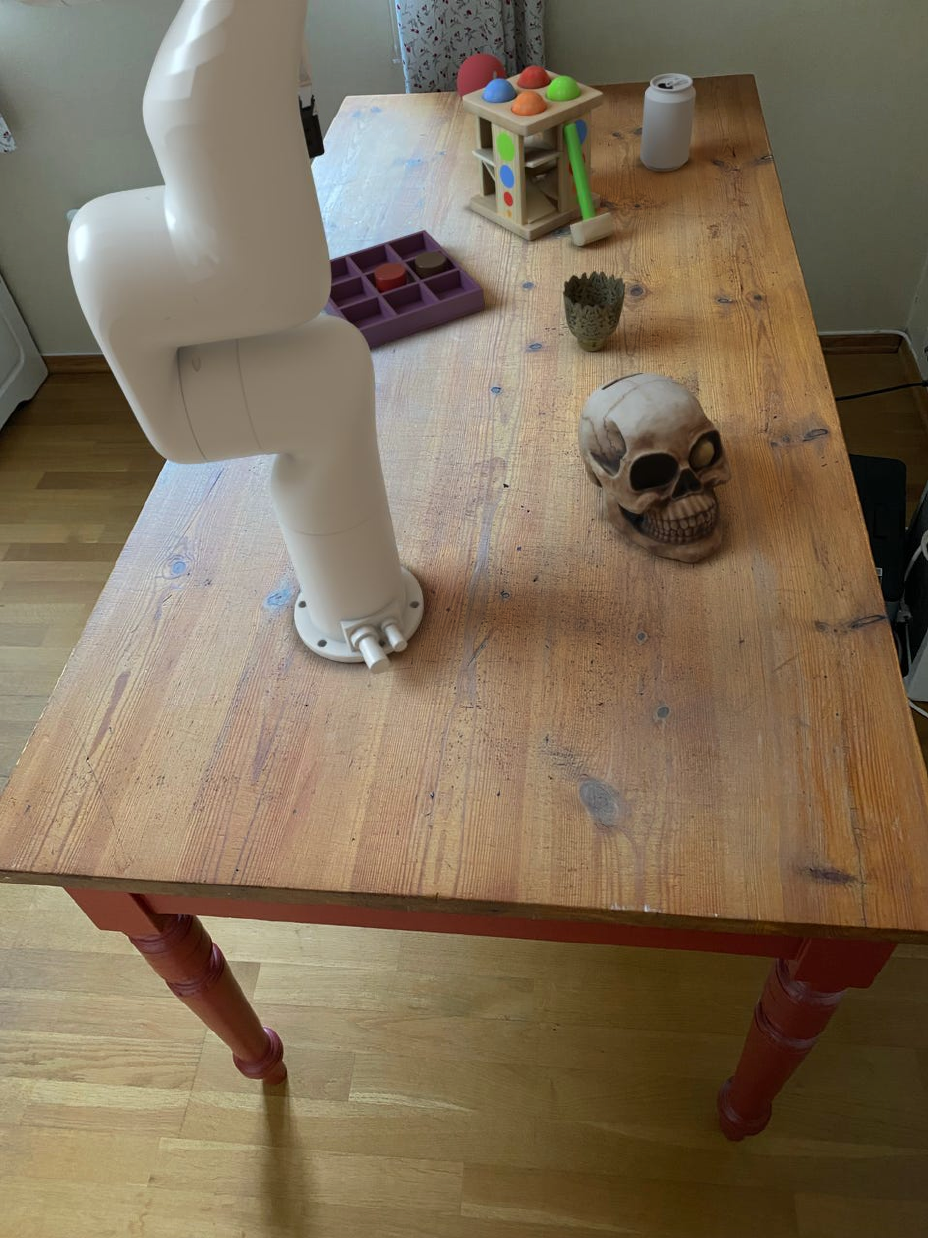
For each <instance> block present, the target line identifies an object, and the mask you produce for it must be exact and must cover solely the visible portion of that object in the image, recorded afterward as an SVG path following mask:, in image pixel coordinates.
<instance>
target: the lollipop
mask: <svg viewBox="0 0 928 1238" xmlns="http://www.w3.org/2000/svg"><path fill="white" fill-rule="evenodd" d="M495 79H505V80H506V79H507V73H506V69H505V67H504V65H503V63H502V62H501V61H500V60H499V59H498V58H497V57H496V56H495V55H492V54H490V53H485V52H480V53H479V52H478V53H475V54H472V55H470V56H468V57H467V58H466V59H465V60H464V61H463V62H462V64H461V65H460V67H459V70H458V73H457V78H456V89H457V93H458V96H459V98H460V100H461V102H463V98H462V97H463V96H464V95H467V94H469V93H472V92H475V91H477V90H480V89H483V88H485V87H486V86H487V85H488V84H489V83H490V82H491V81H493V80H495Z"/></svg>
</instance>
